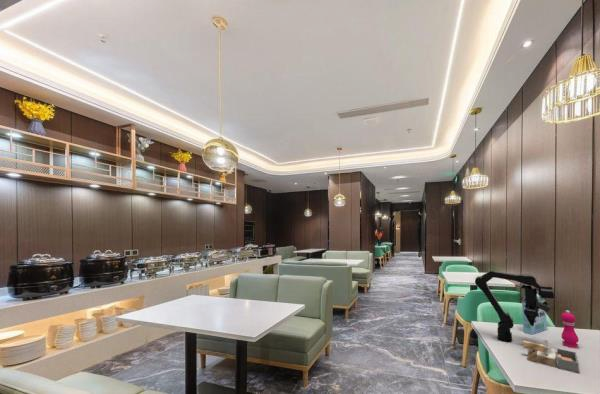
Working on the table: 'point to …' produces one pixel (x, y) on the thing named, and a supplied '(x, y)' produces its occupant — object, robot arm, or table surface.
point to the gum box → (539, 321)
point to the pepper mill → (569, 330)
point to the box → (565, 363)
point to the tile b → (566, 358)
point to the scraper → (536, 346)
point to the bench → (542, 357)
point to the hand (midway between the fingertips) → (532, 323)
